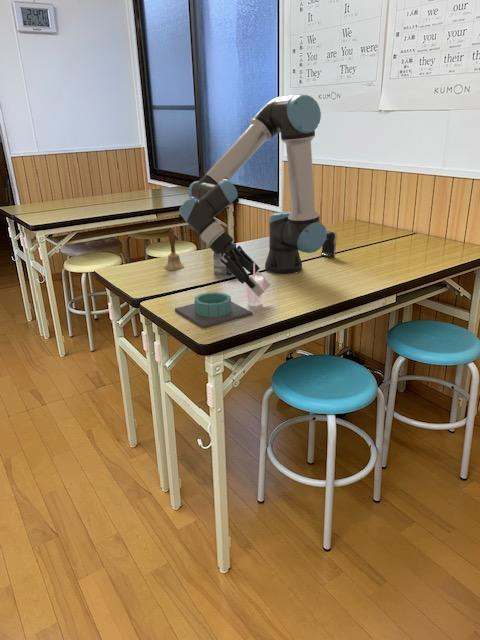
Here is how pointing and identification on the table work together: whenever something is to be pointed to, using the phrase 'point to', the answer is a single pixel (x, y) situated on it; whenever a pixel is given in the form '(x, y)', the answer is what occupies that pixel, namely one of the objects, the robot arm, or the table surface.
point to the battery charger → (329, 245)
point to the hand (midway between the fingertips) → (264, 290)
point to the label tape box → (221, 265)
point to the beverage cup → (251, 296)
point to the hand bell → (173, 255)
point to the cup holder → (212, 310)
